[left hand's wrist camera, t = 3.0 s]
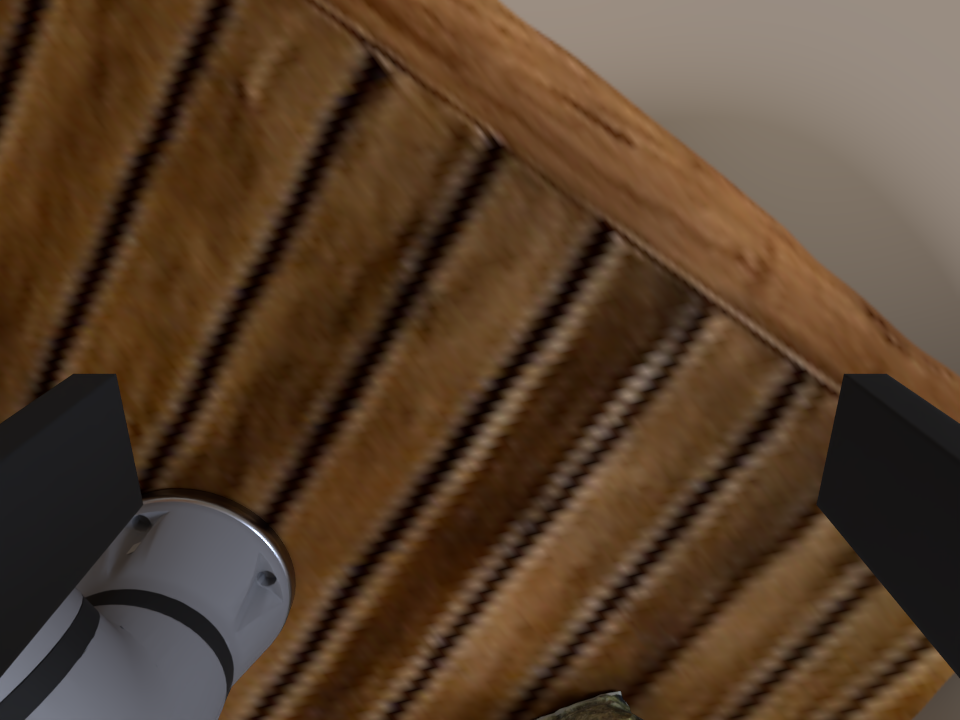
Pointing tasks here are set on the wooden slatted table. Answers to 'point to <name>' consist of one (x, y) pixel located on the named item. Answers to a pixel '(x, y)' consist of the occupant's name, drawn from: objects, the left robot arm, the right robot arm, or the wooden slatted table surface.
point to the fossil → (595, 709)
